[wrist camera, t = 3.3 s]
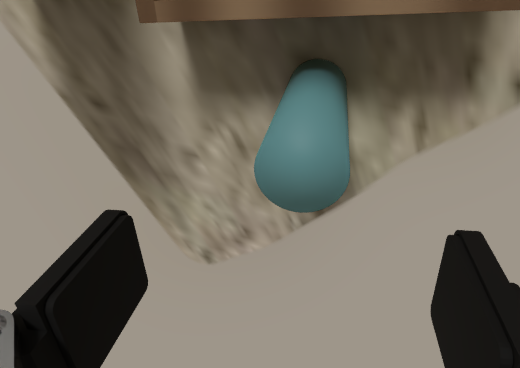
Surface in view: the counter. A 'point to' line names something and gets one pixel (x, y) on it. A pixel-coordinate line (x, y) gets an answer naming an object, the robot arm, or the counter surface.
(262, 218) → the counter surface
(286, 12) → the box
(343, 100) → the peg
